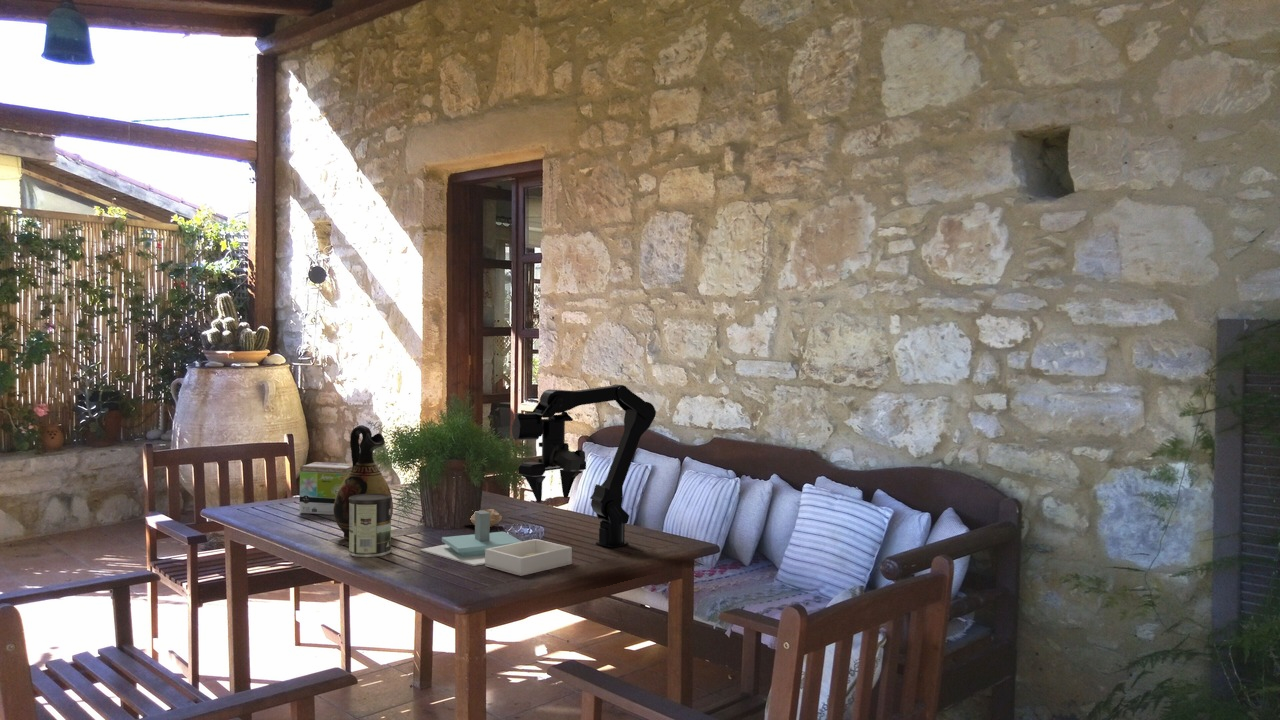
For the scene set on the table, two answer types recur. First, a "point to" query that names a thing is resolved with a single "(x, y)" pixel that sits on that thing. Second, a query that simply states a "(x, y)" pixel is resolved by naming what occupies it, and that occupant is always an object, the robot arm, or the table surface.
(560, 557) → the parts tub
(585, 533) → the table surface
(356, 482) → the ceramic jug
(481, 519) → the teal lid
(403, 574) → the table surface
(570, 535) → the table surface
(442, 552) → the grey mat
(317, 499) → the tea box
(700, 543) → the table surface
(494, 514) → the pottery oil lamp
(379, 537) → the coffee can
